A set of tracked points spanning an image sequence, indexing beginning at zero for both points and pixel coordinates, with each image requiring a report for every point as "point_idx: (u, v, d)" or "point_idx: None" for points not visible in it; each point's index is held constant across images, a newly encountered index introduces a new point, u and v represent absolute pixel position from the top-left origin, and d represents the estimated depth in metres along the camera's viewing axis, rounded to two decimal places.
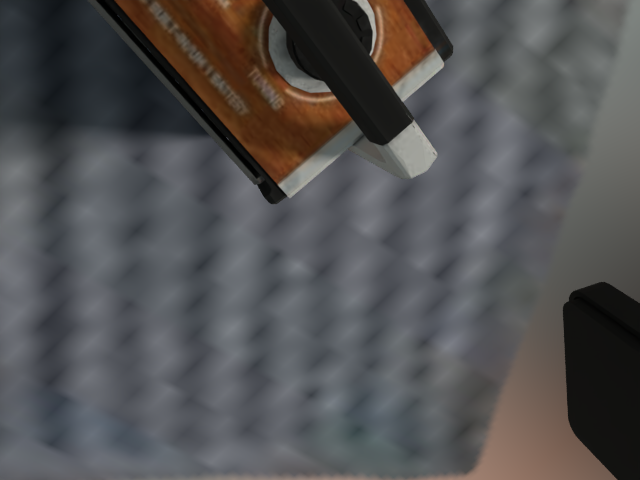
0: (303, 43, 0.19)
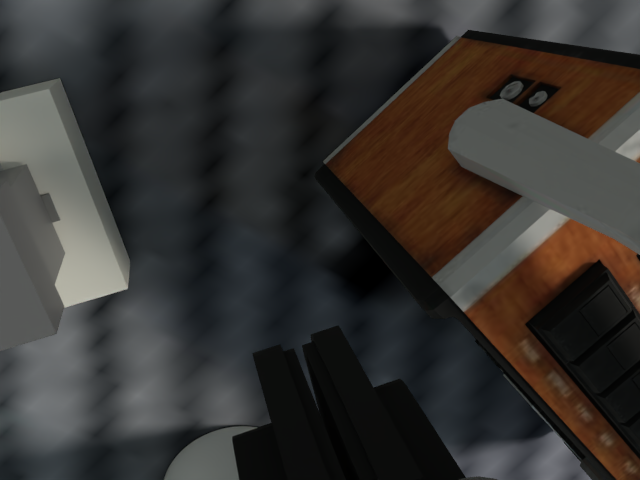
0: None
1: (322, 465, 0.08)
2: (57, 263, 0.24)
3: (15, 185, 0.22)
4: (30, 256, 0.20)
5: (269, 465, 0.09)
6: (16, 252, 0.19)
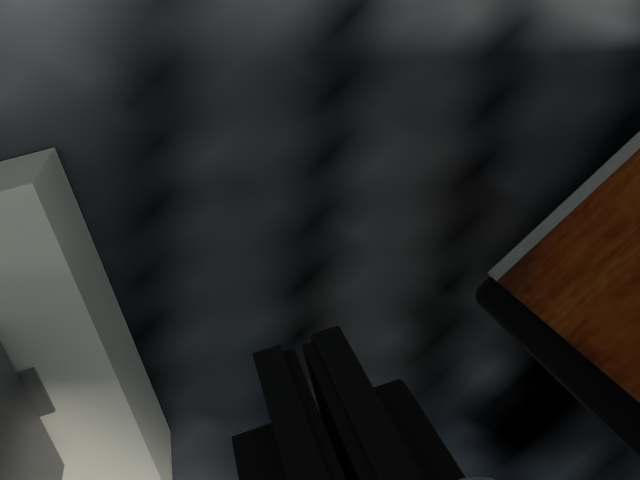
0: None
1: (322, 465, 0.08)
2: None
3: None
4: None
5: (269, 465, 0.09)
6: None
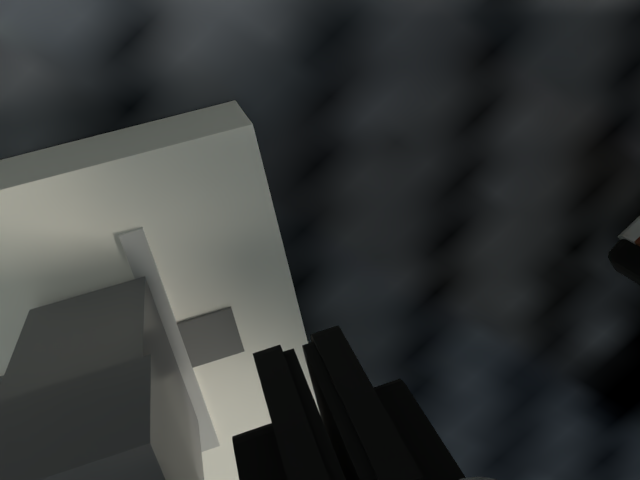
0: None
1: (322, 465, 0.08)
2: (199, 460, 0.13)
3: (145, 341, 0.11)
4: None
5: (269, 465, 0.09)
6: None
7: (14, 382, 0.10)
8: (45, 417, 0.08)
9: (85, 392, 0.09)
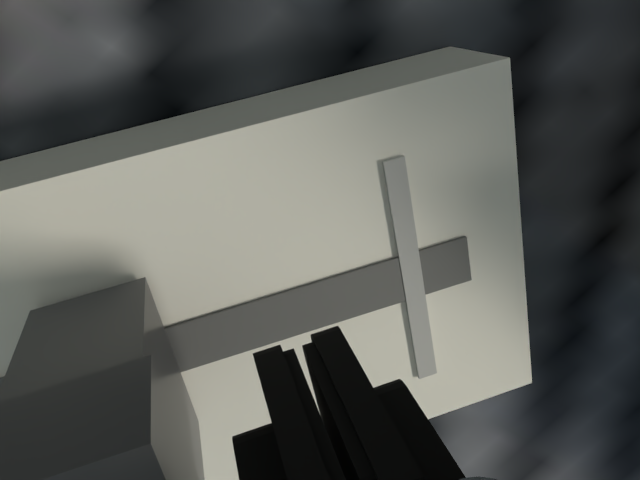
0: None
1: (322, 465, 0.08)
2: (200, 461, 0.13)
3: (146, 342, 0.11)
4: None
5: (269, 465, 0.09)
6: None
7: (14, 383, 0.10)
8: (46, 418, 0.08)
9: (85, 393, 0.09)
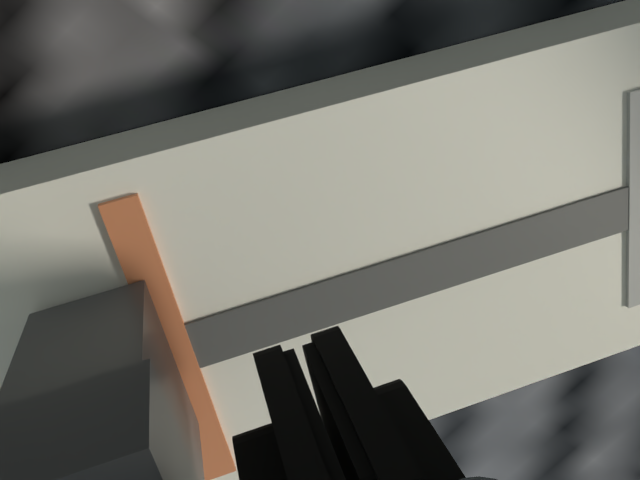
0: None
1: (322, 465, 0.08)
2: (200, 463, 0.13)
3: (145, 345, 0.11)
4: None
5: (269, 465, 0.09)
6: None
7: (13, 387, 0.10)
8: (44, 422, 0.08)
9: (84, 397, 0.09)
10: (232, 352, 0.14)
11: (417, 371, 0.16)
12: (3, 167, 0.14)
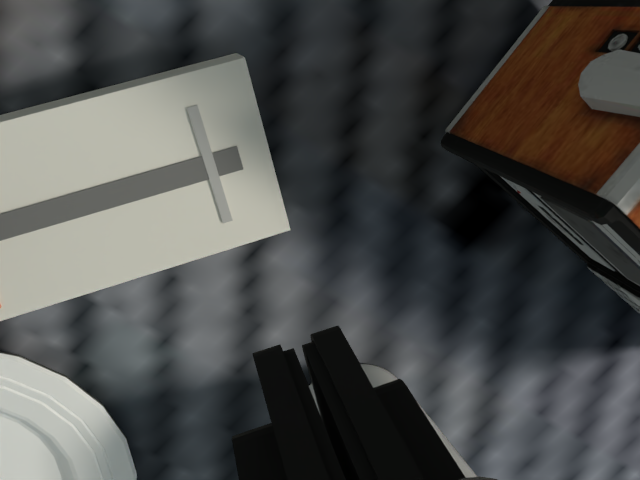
0: None
1: (322, 465, 0.08)
2: None
3: None
4: None
5: (269, 465, 0.09)
6: None
7: None
8: None
9: None
10: None
11: (100, 256, 0.30)
12: None
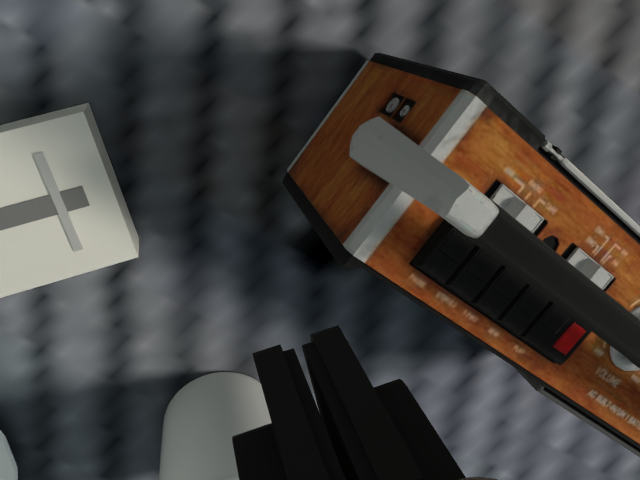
0: None
1: (322, 465, 0.08)
2: None
3: None
4: None
5: (269, 465, 0.09)
6: None
7: None
8: None
9: None
10: None
11: None
12: None
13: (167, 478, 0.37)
